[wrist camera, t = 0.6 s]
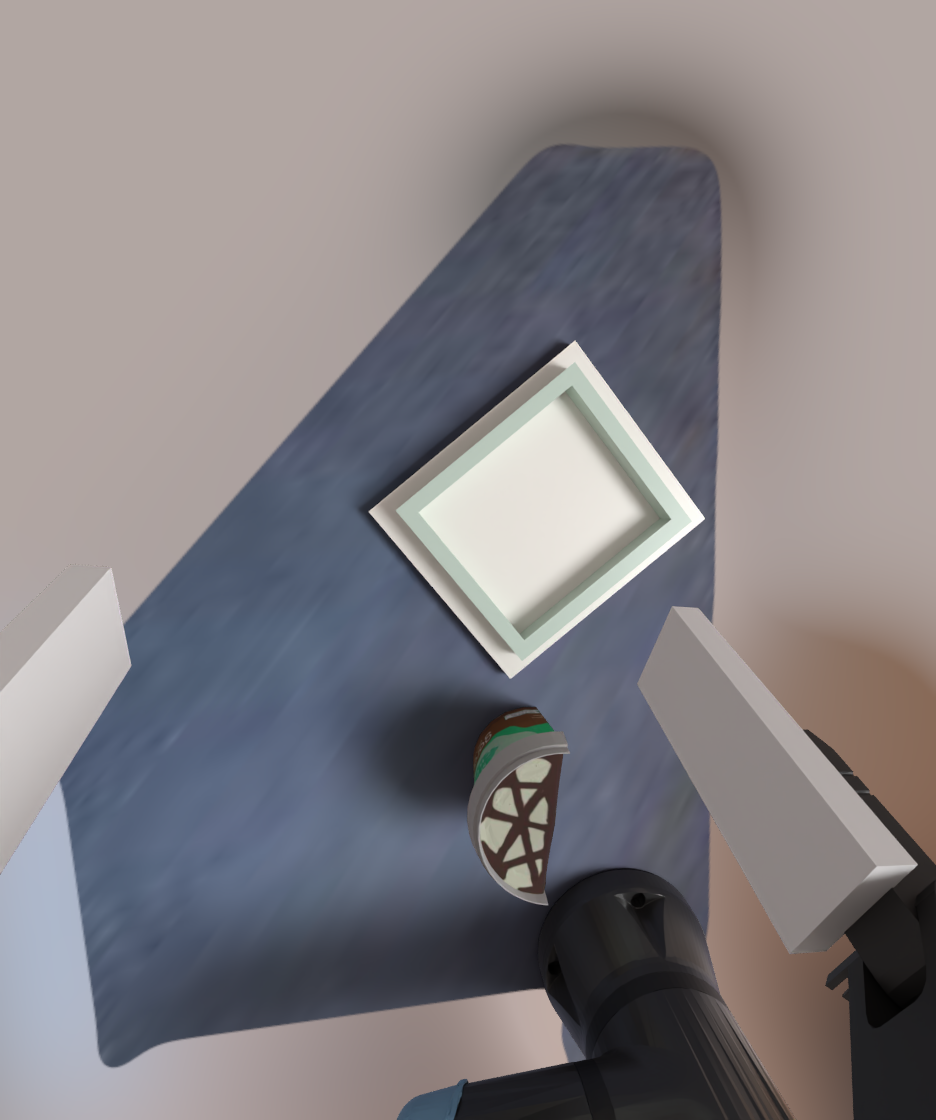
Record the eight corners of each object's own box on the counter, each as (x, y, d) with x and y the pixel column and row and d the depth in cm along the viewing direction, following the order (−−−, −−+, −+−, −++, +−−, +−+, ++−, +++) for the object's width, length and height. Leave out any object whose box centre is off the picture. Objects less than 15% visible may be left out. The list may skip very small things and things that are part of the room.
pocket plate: (697, 518, 44) (718, 519, 41) (508, 674, 44) (514, 687, 41) (570, 345, 41) (583, 332, 38) (370, 511, 41) (365, 512, 38)
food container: (468, 684, 44) (480, 738, 34) (538, 690, 45) (571, 745, 35) (452, 819, 45) (460, 909, 35) (520, 823, 46) (547, 912, 36)
